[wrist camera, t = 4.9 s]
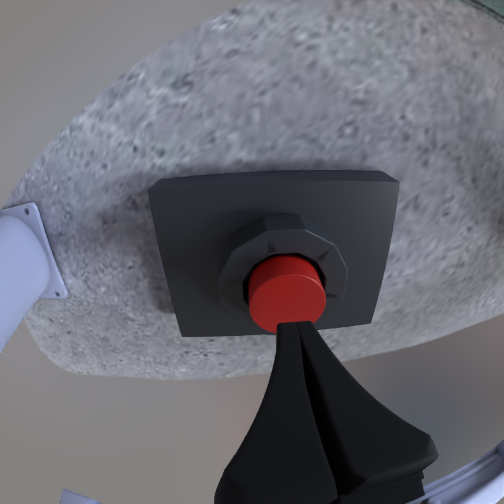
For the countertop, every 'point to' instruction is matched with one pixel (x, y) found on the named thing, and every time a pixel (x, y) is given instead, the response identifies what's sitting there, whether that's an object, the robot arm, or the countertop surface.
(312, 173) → the control box
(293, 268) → the power button
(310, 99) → the countertop surface
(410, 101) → the countertop surface
